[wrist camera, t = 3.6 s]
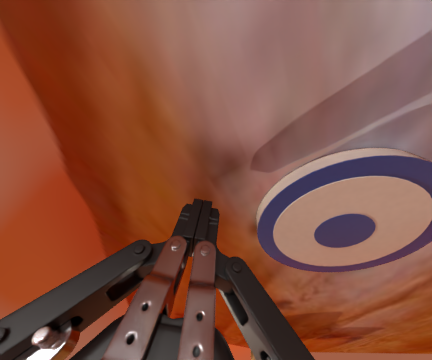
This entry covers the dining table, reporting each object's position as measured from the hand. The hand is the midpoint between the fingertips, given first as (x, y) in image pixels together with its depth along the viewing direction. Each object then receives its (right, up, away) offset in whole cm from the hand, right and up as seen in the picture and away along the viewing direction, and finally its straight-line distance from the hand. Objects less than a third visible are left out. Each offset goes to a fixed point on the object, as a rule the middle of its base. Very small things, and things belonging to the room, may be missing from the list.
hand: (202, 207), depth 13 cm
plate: (+12, -1, +1) cm, 12 cm away
